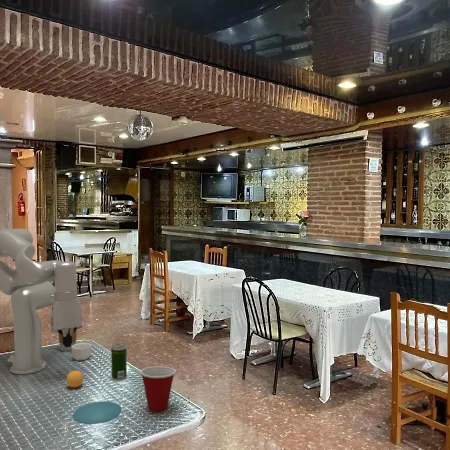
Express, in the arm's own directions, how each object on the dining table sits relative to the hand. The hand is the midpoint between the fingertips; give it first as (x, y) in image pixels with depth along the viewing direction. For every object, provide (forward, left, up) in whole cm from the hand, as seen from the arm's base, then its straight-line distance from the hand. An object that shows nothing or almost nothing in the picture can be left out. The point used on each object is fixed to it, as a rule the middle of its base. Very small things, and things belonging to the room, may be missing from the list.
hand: (67, 346), depth 156 cm
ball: (+7, -6, -9) cm, 13 cm away
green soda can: (+18, +5, -12) cm, 22 cm away
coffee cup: (-20, +27, -12) cm, 36 cm away
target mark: (+25, -20, -12) cm, 35 cm away
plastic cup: (+42, -13, -12) cm, 45 cm away
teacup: (-8, +19, -12) cm, 24 cm away
